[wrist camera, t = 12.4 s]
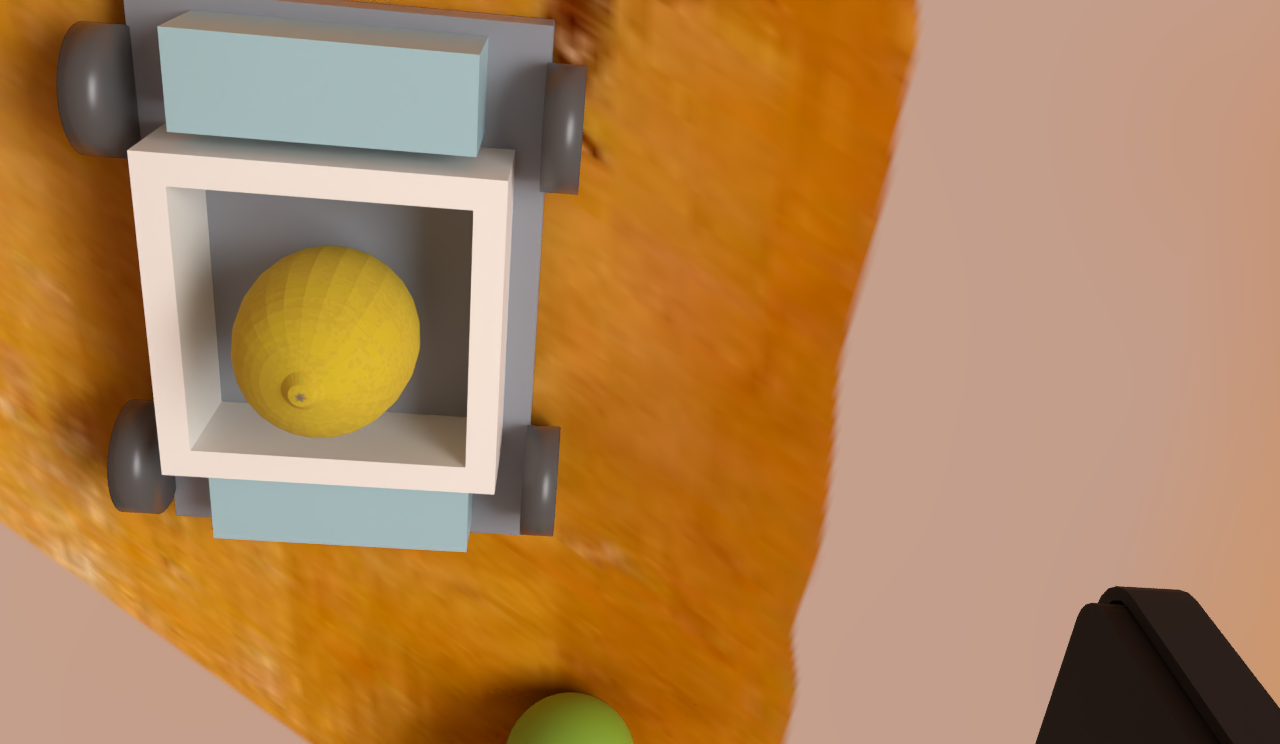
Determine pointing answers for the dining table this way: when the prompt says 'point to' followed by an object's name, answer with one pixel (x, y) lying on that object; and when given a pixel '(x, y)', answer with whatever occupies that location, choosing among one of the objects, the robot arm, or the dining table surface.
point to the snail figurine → (570, 722)
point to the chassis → (340, 216)
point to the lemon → (325, 341)
